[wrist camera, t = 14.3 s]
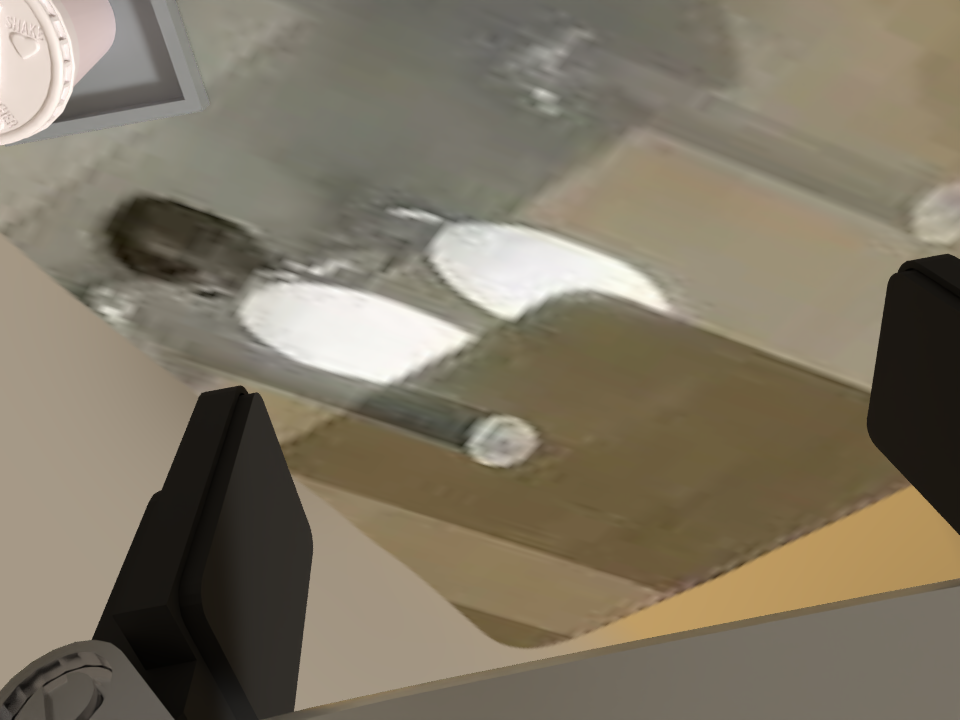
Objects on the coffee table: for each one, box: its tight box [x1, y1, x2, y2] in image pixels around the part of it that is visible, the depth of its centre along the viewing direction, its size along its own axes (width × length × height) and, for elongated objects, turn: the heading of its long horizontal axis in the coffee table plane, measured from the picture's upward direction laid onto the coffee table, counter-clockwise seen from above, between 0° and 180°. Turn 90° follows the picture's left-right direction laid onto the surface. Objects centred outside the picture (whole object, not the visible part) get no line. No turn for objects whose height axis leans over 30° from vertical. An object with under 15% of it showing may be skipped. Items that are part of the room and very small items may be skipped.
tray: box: [5, 0, 210, 146], centre depth 32 cm, size 9×9×2 cm
